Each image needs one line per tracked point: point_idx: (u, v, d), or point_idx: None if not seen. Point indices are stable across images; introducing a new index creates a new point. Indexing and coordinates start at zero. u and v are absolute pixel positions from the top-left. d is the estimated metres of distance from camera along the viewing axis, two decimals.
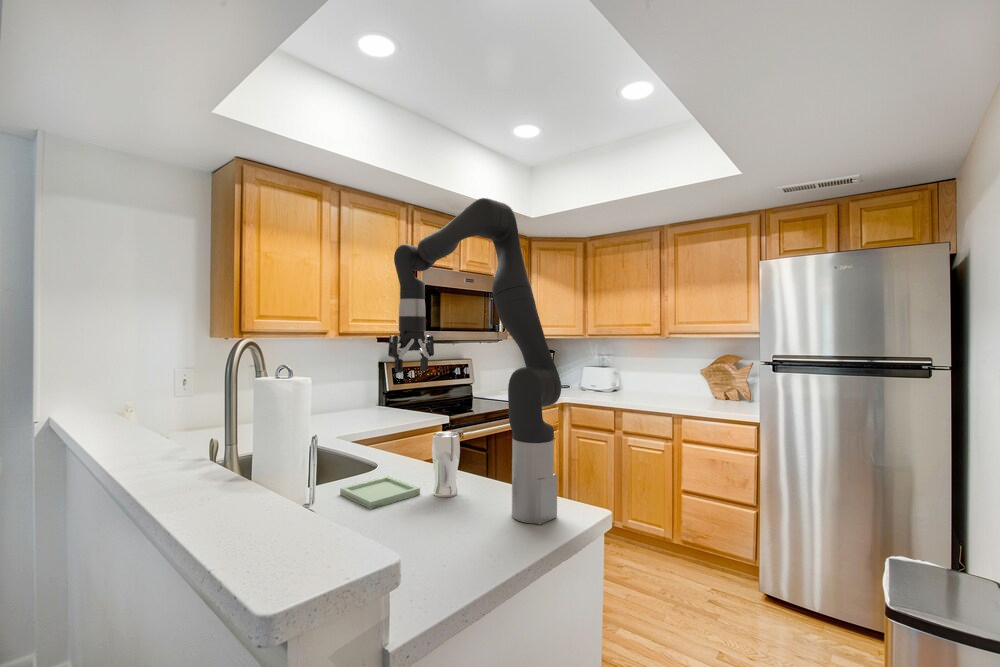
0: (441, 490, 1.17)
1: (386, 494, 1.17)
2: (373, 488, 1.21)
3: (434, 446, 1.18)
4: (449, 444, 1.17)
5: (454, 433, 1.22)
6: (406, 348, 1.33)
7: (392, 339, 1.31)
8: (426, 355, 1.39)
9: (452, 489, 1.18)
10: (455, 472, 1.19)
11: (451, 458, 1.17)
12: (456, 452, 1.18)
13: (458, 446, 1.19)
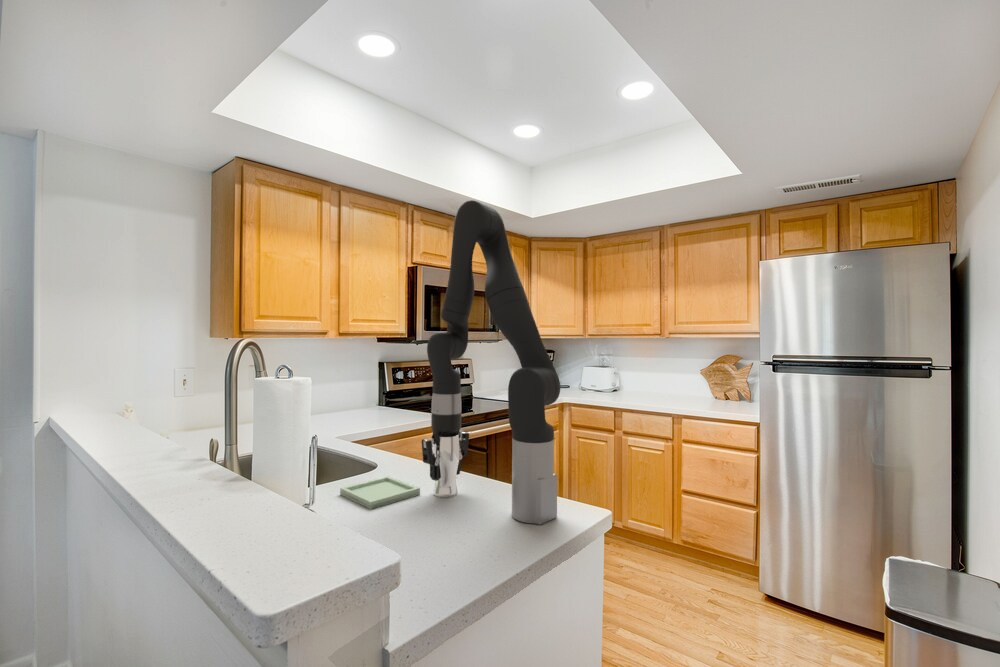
0: (441, 490, 1.17)
1: (386, 494, 1.17)
2: (373, 488, 1.21)
3: (434, 446, 1.18)
4: (449, 444, 1.17)
5: None
6: None
7: (425, 445, 1.15)
8: None
9: (452, 489, 1.18)
10: (455, 472, 1.19)
11: (451, 458, 1.17)
12: (456, 452, 1.18)
13: (458, 446, 1.19)
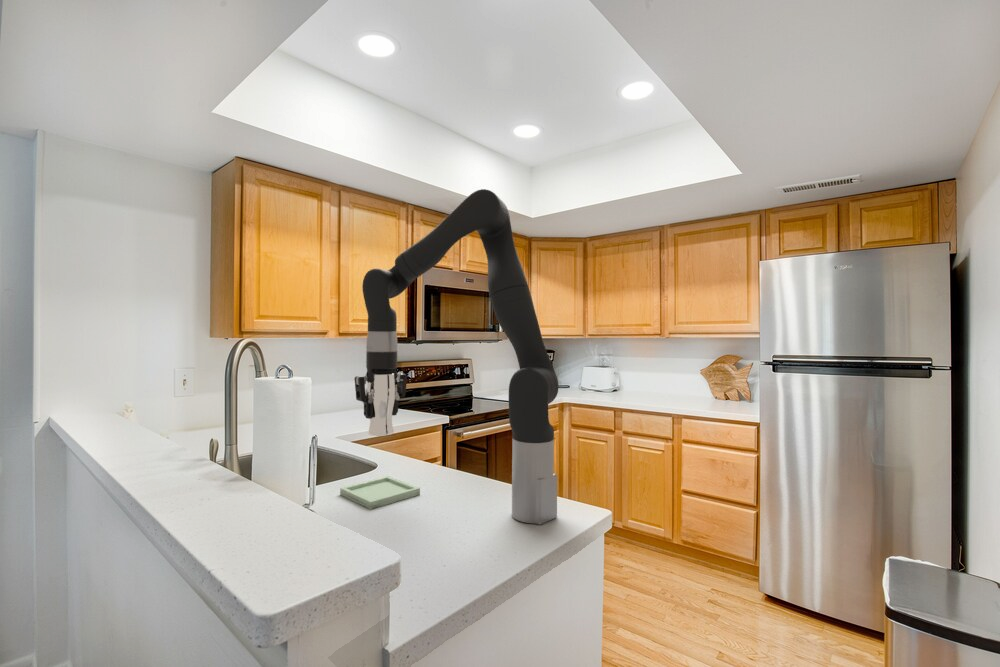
0: (375, 428, 1.16)
1: (386, 494, 1.17)
2: (373, 488, 1.21)
3: (368, 384, 1.17)
4: (382, 382, 1.16)
5: None
6: None
7: (358, 381, 1.14)
8: (396, 397, 1.21)
9: (386, 428, 1.17)
10: (390, 411, 1.18)
11: (385, 396, 1.16)
12: (390, 390, 1.17)
13: (393, 385, 1.18)
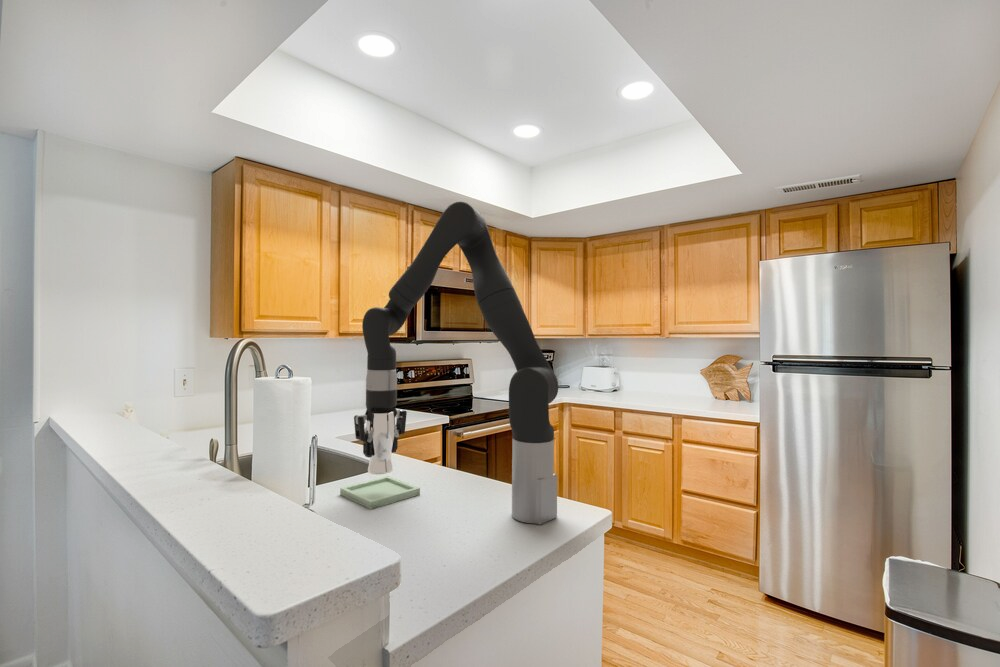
0: (374, 467, 1.16)
1: (386, 494, 1.17)
2: (373, 488, 1.21)
3: (367, 423, 1.17)
4: (382, 420, 1.16)
5: None
6: None
7: (357, 421, 1.14)
8: (395, 434, 1.21)
9: (386, 466, 1.17)
10: (389, 449, 1.18)
11: (384, 435, 1.16)
12: (390, 429, 1.17)
13: (392, 423, 1.18)
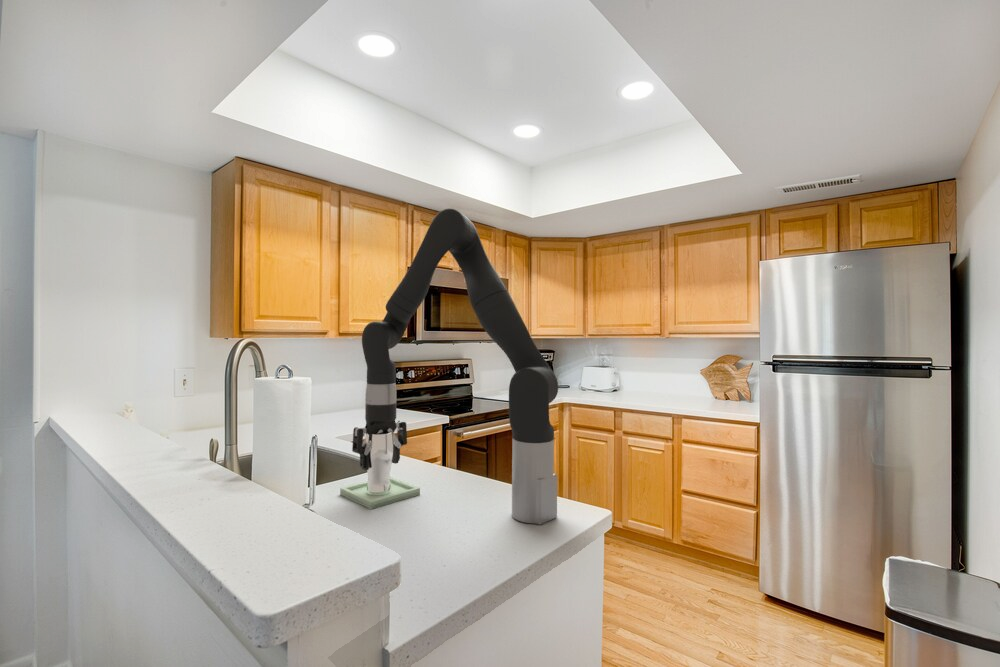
0: (372, 488, 1.16)
1: (386, 494, 1.17)
2: None
3: (366, 444, 1.16)
4: (380, 442, 1.15)
5: None
6: None
7: (356, 433, 1.14)
8: (398, 445, 1.21)
9: (384, 487, 1.16)
10: (387, 470, 1.17)
11: (382, 456, 1.15)
12: (388, 450, 1.16)
13: (391, 444, 1.17)
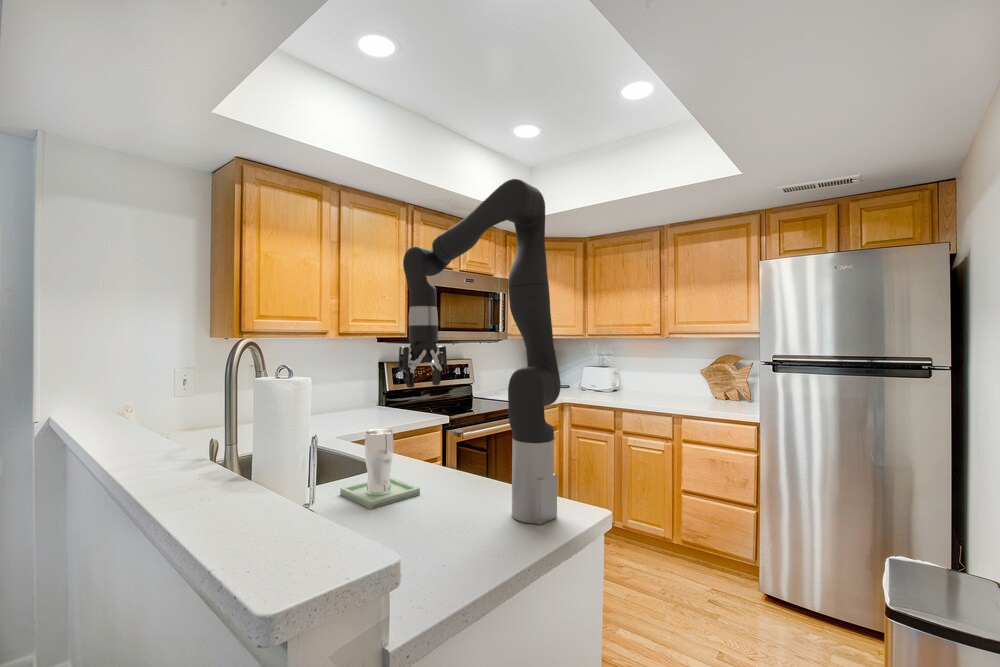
0: (372, 488, 1.16)
1: (386, 494, 1.17)
2: None
3: (366, 444, 1.16)
4: (380, 442, 1.15)
5: (389, 430, 1.21)
6: (418, 360, 1.21)
7: (403, 351, 1.19)
8: (439, 367, 1.27)
9: (384, 487, 1.16)
10: (387, 470, 1.17)
11: (382, 456, 1.15)
12: (388, 450, 1.16)
13: (391, 444, 1.17)
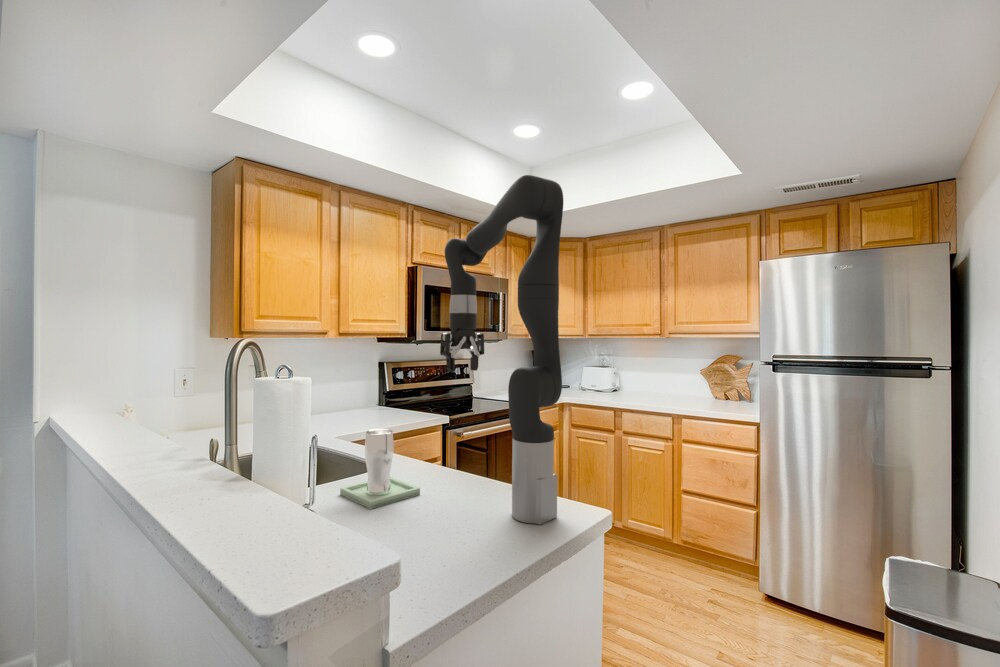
0: (372, 488, 1.16)
1: (386, 494, 1.17)
2: None
3: (366, 443, 1.16)
4: (380, 441, 1.15)
5: (389, 430, 1.21)
6: (458, 346, 1.27)
7: (444, 337, 1.25)
8: (477, 354, 1.33)
9: (384, 487, 1.16)
10: (387, 470, 1.17)
11: (382, 456, 1.15)
12: (388, 450, 1.16)
13: (391, 444, 1.17)
